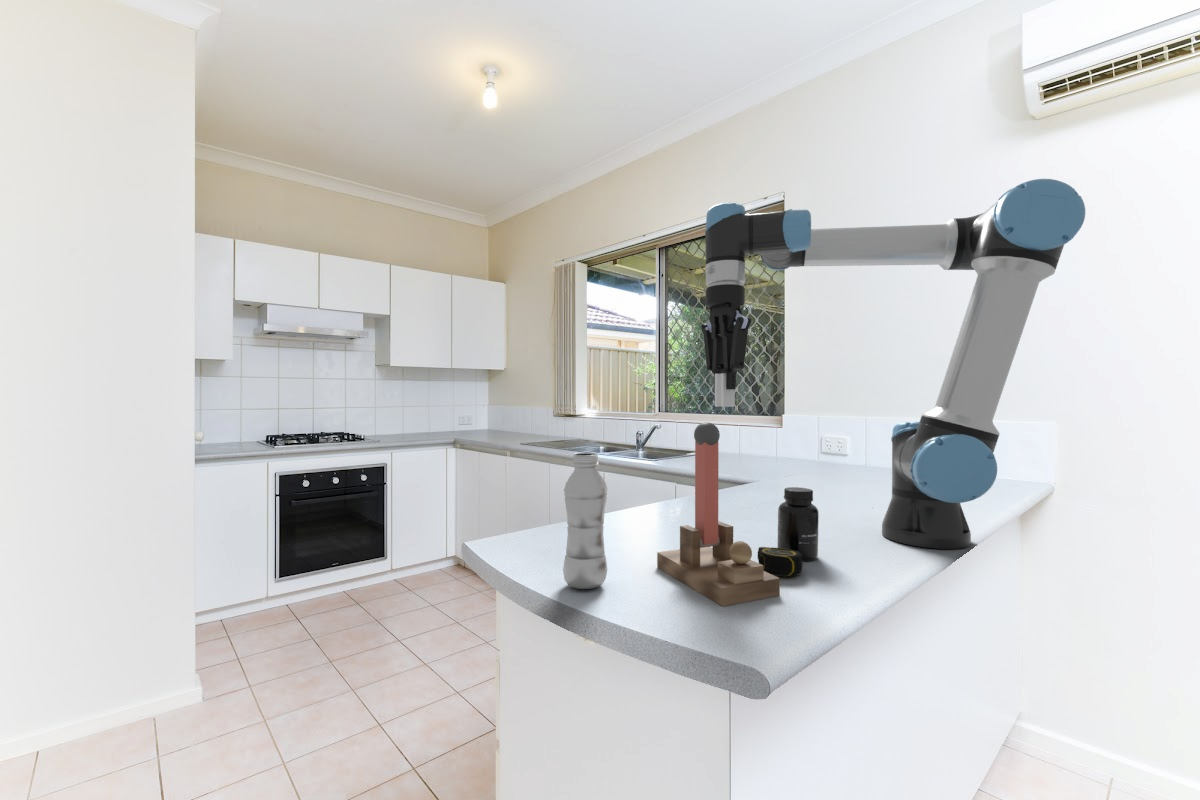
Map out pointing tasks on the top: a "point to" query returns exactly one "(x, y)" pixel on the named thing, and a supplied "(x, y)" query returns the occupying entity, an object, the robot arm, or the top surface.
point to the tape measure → (780, 561)
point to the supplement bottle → (798, 523)
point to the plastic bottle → (585, 524)
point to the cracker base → (707, 569)
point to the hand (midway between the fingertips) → (724, 406)
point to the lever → (706, 483)
